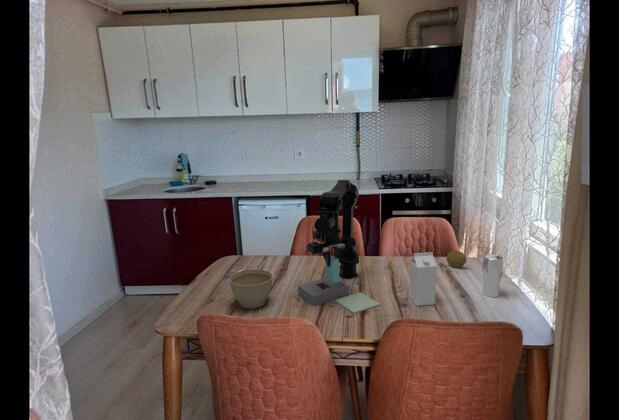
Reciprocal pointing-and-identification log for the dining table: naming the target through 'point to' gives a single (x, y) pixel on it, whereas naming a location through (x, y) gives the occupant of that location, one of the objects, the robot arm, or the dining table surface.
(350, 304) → the mat
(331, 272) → the plug
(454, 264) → the olive green melon
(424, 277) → the milk carton
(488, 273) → the silver can
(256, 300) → the planter bowl
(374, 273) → the dining table surface
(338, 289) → the socket block
